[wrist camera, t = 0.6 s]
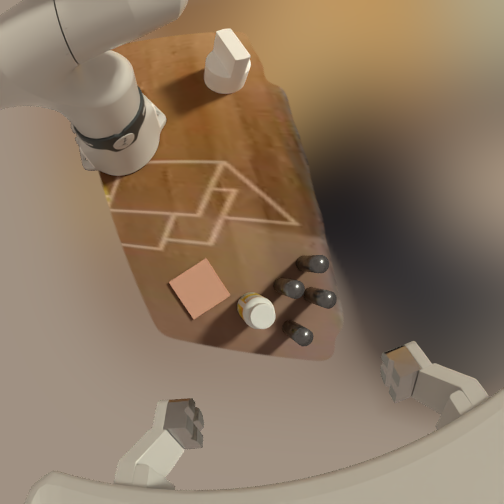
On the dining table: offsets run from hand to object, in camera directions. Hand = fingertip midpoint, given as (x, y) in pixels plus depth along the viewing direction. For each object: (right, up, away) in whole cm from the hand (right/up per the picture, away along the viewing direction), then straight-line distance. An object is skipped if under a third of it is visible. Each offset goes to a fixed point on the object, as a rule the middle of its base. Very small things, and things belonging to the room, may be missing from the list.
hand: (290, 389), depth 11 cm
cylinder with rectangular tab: (-7, +43, +42) cm, 61 cm away
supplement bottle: (-2, -5, +42) cm, 42 cm away
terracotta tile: (-11, -1, +40) cm, 41 cm away
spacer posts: (+7, -3, +44) cm, 44 cm away
